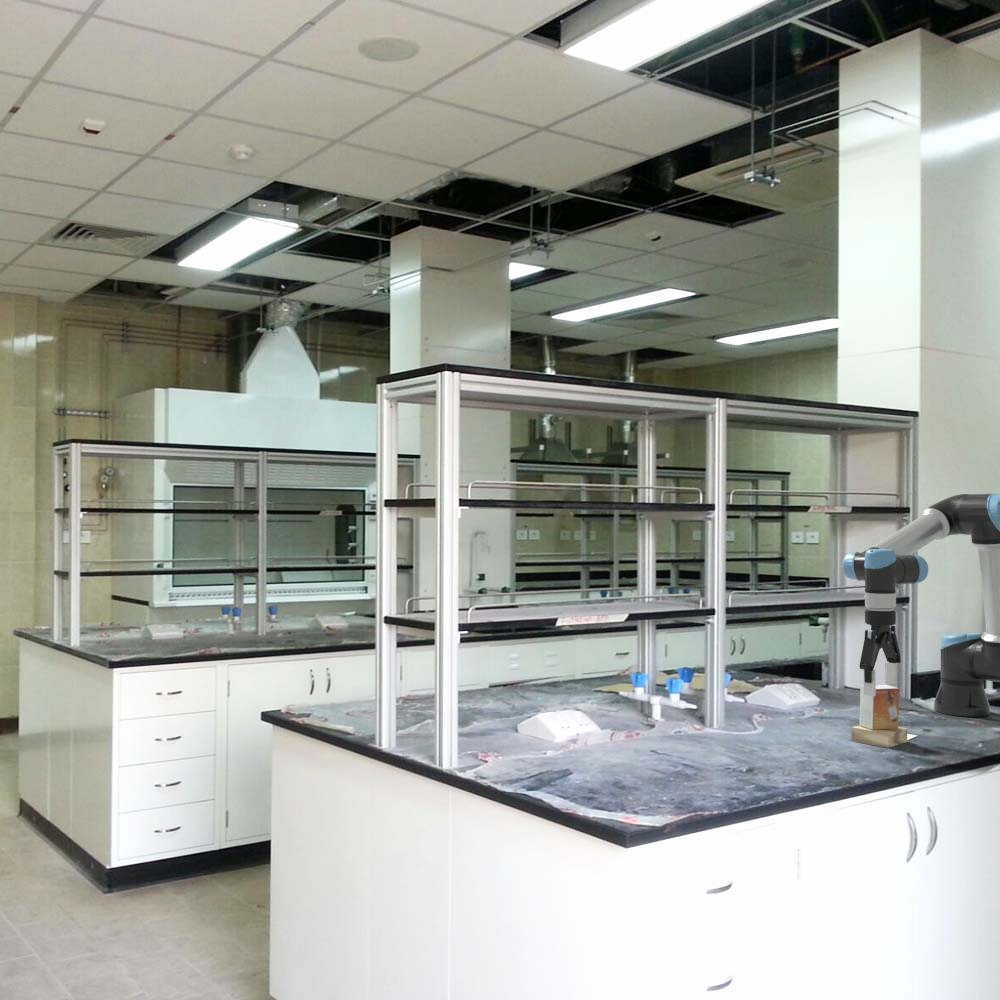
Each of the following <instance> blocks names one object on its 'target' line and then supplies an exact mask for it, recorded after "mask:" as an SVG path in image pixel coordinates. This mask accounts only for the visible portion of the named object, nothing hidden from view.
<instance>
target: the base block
mask: <svg viewBox="0 0 1000 1000" xmlns="http://www.w3.org/2000/svg"><path fill="white" fill-rule="evenodd" d="M907 734H908V727H907V728H906V727H902V726H901V727H900V726H898V729H875V730H872V729H869V728H866V727H863V726H860V725H856V726H851V735H850V737H851V738H850V740H851V742H855V743H861V744H866V745H870V746H871V745H872V746H876V747H881V748H886V747H887V748H886V749H889V747H890V748H893V747H896V746H899V745H903V744H905V743H907V742H908V740H907ZM902 743H903V744H902ZM898 744H899V745H898ZM895 745H896V746H895ZM892 746H893V747H892Z"/></svg>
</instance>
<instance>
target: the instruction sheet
mask: <svg viewBox="0 0 1000 1000" xmlns="http://www.w3.org/2000/svg"><path fill="white" fill-rule="evenodd" d="M917 737H919V735H917V734H912V733H911V734H910V733H907V741H910V740H913V739H915V738H917Z"/></svg>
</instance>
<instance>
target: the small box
mask: <svg viewBox="0 0 1000 1000" xmlns="http://www.w3.org/2000/svg"><path fill="white" fill-rule="evenodd" d="M859 688H860V691H859V692H860V694H859V723H858V724H859V725H860V726H863V727H866V728H869V729H872V730H875V729H898V727H899V716H900V715H899V714H900V713H899V712H900V709H899V708H900V688H899V687H897V688H896V687H893V686H889V685H886V684H878V685H877V684H876V696H868V695H864V685H860V687H859ZM859 725H858V726H859Z"/></svg>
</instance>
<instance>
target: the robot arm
mask: <svg viewBox="0 0 1000 1000" xmlns="http://www.w3.org/2000/svg"><path fill="white" fill-rule="evenodd" d="M956 535H964V536H965V535H968V536H969V535H970V539H971V545H973V546H974V547H975V548H977V549H978V559H979V569H980V579H981V580H980V581H981V590H982V601H983V602H982V603H983V611H984V620H985V621H984V622H985V632H984V633H979V632H977V633H974V632H973V633H953V634H951V633H950V634H946V635H944V636H942V638H941V643H940V648H939V650H940V685H939V687H938V691H937V693H936V697H935V699H934V702H933V709H934V711H935V712H937V713H940V714H945V715H951V716H959V717H970V718H973V717H978V718H979V717H988V716H990V715H991V706H990V703H989V699H988V696H987V693H986V690H985V687H984V686H985V685H984V682H985V681H988V682H995V683H1000V493H972V494H971V493H970V494H969V493H963V494H962V493H960V494H955V495H952V496H949V497H946V498H945V499H944V498H943V499H942V500H940V501H938V502H936V503H934V504H932V505H930V506H929V507H927V508H926V509H925V508H924V510H922V512H920V514H919V516H918V517H917V518H916V519H914V520H913V521H911V522H910V523H908V524H906V525H905V526H903V527H901V528H899V529H898V530H897V531H895V532H893V533H891V534H890V535H889V536H887V537H886V538H884V539H882V540H881V541H879V542H878V543H876V544H874V545H873V546H871V547H869V548H868V549H866V550H864V551H862V552H859V551H856V552H855V551H854V552H849V553H847V554H846V555H845V556H844V558H843V560H842V571H843V574H844V576H845V577H846V578H848V579H850V580H856V581H858V582H859V581H860V582H861V581H862V582H863V581H864V595H863V599H864V607H865V608H866V609H865V610H864V622H865V624H866V625H870V630H869V629H865V630H864V639H863V640H864V641H863V646H862V649H861V650H862V651H861V656H860V660H859V669H860V670H863V686H864V695H868V696H876V685H877V684H876V680H877V679H876V669H875V665H876V663H877V659H878V655H879V654H880V653H879V652H880V649H882V651H883V653H884V657H885V659H886V661H887V662H885V668H884V669H885V672H884V673H885V685H889V686H893V687H896V688H898V679H897V678H898V668H897V667H898V664H901V660H902V659H901V658H902V657H901V652H900V648H899V644H898V638H897V634H896V631H897V630H896V626H895V625H896V624H897V611H896V610H895V609H896V608H897V591H896V590H897V585H915V584H919V583H921V582H923V581H925V580H926V579H927V577H928V574H929V564H928V562H927V560H926V559H925V558H924V557H922V556H921V555H917V554H914V553H916V552H918V551H919V550H921V549H922V548H924V547H925V546H927V545H929V544H931V543H932V542H934V541H935V540H944V539H945V538H946V537H948V536H956Z"/></svg>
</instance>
